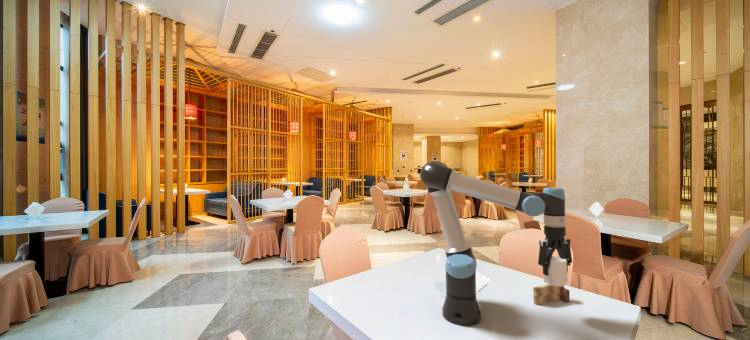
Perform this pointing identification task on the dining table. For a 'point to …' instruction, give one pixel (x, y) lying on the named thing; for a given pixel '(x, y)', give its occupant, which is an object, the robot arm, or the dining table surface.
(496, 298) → the dining table surface
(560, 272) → the white cup
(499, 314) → the dining table surface
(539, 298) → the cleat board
